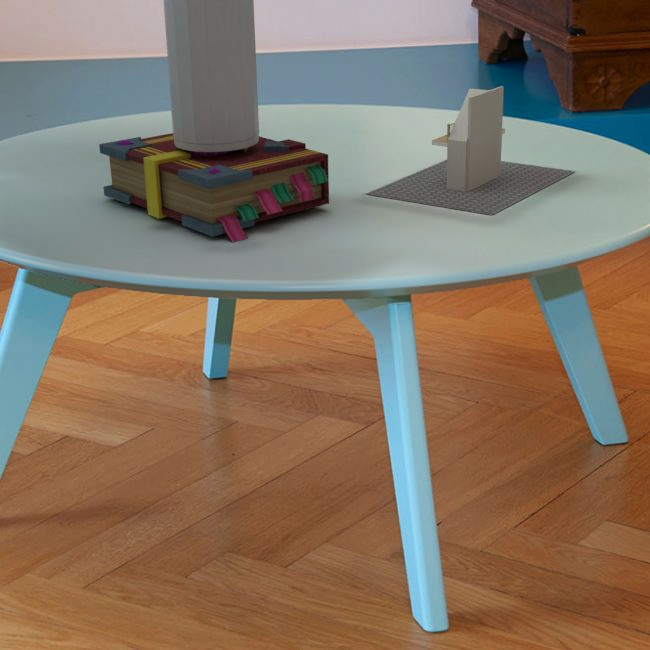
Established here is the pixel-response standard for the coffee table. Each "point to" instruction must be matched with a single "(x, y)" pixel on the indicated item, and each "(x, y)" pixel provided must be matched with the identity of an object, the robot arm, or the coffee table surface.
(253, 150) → the decorative book
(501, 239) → the coffee table surface
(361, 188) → the coffee table surface
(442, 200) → the architectural model
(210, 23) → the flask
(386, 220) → the coffee table surface
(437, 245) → the coffee table surface
